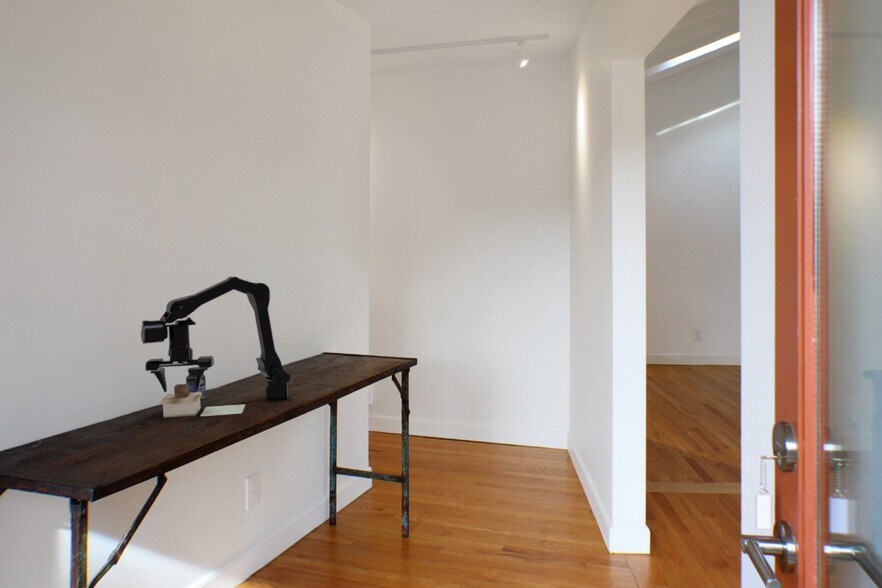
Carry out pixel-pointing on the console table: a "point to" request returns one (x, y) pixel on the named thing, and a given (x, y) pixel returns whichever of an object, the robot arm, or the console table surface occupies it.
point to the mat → (223, 410)
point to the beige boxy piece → (181, 409)
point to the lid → (181, 395)
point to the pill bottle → (192, 382)
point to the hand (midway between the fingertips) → (181, 391)
